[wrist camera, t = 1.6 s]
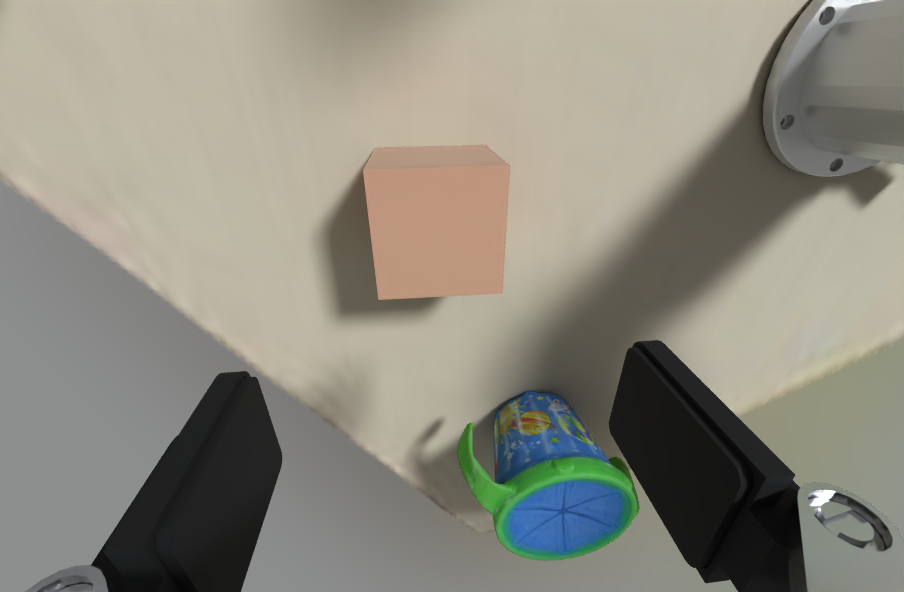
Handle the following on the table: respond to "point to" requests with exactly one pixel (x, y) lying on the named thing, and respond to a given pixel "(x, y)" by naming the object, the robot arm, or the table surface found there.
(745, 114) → the table surface
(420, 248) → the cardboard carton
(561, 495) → the snack cup
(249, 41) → the table surface
